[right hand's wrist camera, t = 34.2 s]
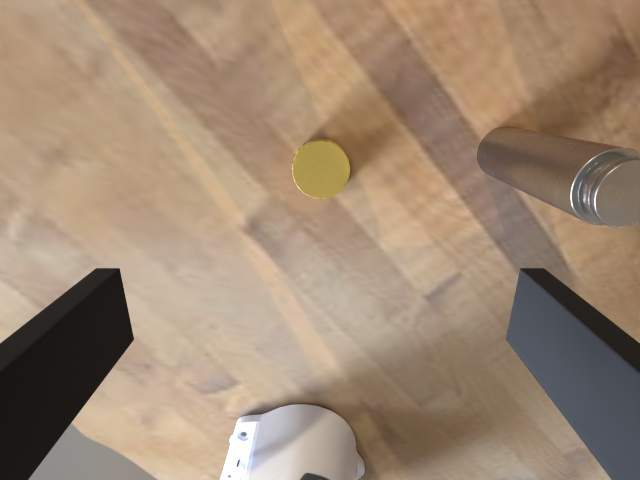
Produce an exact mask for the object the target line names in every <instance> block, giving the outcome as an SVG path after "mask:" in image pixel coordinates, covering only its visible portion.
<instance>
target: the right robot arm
mask: <svg viewBox="0 0 640 480" xmlns="http://www.w3.org/2000/svg"><path fill="white" fill-rule="evenodd" d="M133 340H134V337H133V332H132V328H131V323H130V318H129V313H128V308H127V303H126V298H125V293H124V288H123V283H122V278H121V273H120V269H119V268H96V269H95V270H93V271H92V272H91V273H90V274H88V275H87V276H86V277H85V278H83V279H82V280H81V281H79V282H78V283H77V284H76V285H74V286H73V287H72V288H71V289H69V290H68V291H67V292H65V293H64V294H63V295H62V296H60V297H59V298H58V299H56V300H55V301H54V302H53V303H51V304H50V305H49V306H48V307H46V308H45V309H44V310H42V311H41V312H40V313H39V314H37V315H36V316H35V317H34V318H32V319H31V320H30V321H28V322H27V323H26V324H25V325H23V326H22V327H21V328H20V329H18V330H17V331H16V332H14V333H13V334H12V335H11V336H9V337H8V338H7V339H5V340H4V341H3V342H2V343H0V480H28V479H29V478H30V477H31V475H32V474H33V472H34V471H35V470H36V469H37V467H38V466H39V465H40V463H41V462H42V461H43V459H44V458H45V457H46V455H47V454H48V453H49V451H50V450H51V449H52V447H53V446H54V445H55V443H56V442H57V441H58V439H59V438H60V437H61V435H62V434H63V433H64V431H65V430H66V429H67V427H68V426H69V425H70V424H71V422H72V421H73V420H74V418H75V417H76V416H77V414H78V413H79V412H80V410H81V409H82V408H83V406H84V405H85V404H86V402H87V401H88V400H89V398H90V397H91V396H92V394H93V393H94V392H95V390H96V389H97V388H98V386H99V385H100V384H101V382H102V381H103V380H104V378H105V377H106V376H107V374H108V373H109V372H110V370H111V369H112V368H113V367H114V365H115V364H116V363H117V361H118V360H119V359H120V357H121V356H122V355H123V353H124V352H125V351H126V349H127V348H128V347H129V345H130V344H131V343H132V341H133ZM506 340H507V341H508V343H509V344H510V345H511V347H512V348H513V349H514V351H515V352H516V353H517V355H518V356H519V357H520V359H521V360H522V361H523V363H524V364H525V365H526V367H527V368H528V369H529V370H530V372H531V373H532V374H533V376H534V377H535V378H536V380H537V381H538V382H539V384H540V385H541V386H542V388H543V389H544V390H545V392H546V393H547V394H548V396H549V397H550V398H551V400H552V401H553V402H554V404H555V405H556V406H557V408H558V409H559V410H560V412H561V413H562V414H563V416H564V417H565V418H566V420H567V421H568V422H569V424H570V425H571V426H572V427H573V429H574V430H575V431H576V433H577V434H578V435H579V437H580V438H581V439H582V441H583V442H584V443H585V445H586V446H587V447H588V449H589V450H590V451H591V453H592V454H593V455H594V457H595V458H596V459H597V461H598V462H599V463H600V465H601V466H602V467H603V469H604V470H605V471H606V473H607V474H608V475H609V477H610V478H611V479H612V480H640V343H638V342H637V341H636V340H635V339H633V338H632V337H631V336H629V335H628V334H627V333H626V332H624V331H623V330H622V329H620V328H619V327H618V326H617V325H615V324H614V323H613V322H612V321H610V320H609V319H608V318H606V317H605V316H604V315H603V314H601V313H600V312H599V311H598V310H596V309H595V308H594V307H592V306H591V305H590V304H589V303H587V302H586V301H585V300H584V299H582V298H581V297H580V296H578V295H577V294H576V293H575V292H573V291H572V290H571V289H569V288H568V287H567V286H566V285H564V284H563V283H562V282H561V281H559V280H558V279H557V278H555V277H554V276H553V275H552V274H550V273H549V272H548V271H547V270H545V269H544V268H521V269H520V273H519V278H518V283H517V288H516V293H515V298H514V303H513V308H512V313H511V318H510V323H509V328H508V332H507V337H506Z"/></svg>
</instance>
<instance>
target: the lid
mask: <svg viewBox="0 0 640 480" xmlns="http://www.w3.org/2000/svg"><path fill="white" fill-rule="evenodd" d="M294 157H295V159H294V161H293V163H292V165H293V166H292V173H293V179H294V181H295V183H296V185H297V186H298V188H299V189H300V190H301V191H302V192H303V193H305V194H306V195H308V196H310V197H313V198H318V199H324V198H329V197H332V196H334V195H336V194H338V193H339V192H340V191H341V190H342V189H343V188H344V187H345V186H346V184H347V182H348V179H349V176H350V172H351V171H350V162H349V160H348V155H346V153H345V150H344V149H342V148H341V147H340V146H339V144H337V143H335V142H333V140H328V139H326V138H324V139H318V138H317V139H315V140H312V141H311V140H310V141H309V142H307V143H306V144H305V143H304V145H303V146H302V147H301V148H299V149H298V152H297V154H295V156H294Z"/></svg>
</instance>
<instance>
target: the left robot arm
mask: <svg viewBox="0 0 640 480" xmlns="http://www.w3.org/2000/svg"><path fill="white" fill-rule="evenodd" d="M230 443H231V445H230V448H229V452H228V455H227V458H226V462H225V465H224V469H223V472H222V476H221V479H220V480H359V478H360V477H361V476H362V475H363V474H364V472H365V464H364V461H363V460H362V458H361V457H360V455H359V454H358V453H357V449H356V440H355V436H354V433H353V431H352V429H351V427H350V426H349V425H348V423H347V422H346V421H345V420H344V419H343V418H342V417H340V416H339V415H337V414H336V413H334V412H332V411H330V410H328V409H325V408H322V407H319V406H314V405H307V404H295V405H287V406H283V407H280V408H277V409H274V410H272V411H270V412H267V413H264V414H260V415H247V416H243V417H241V418H239V419H238V421H237V424H236V427H235V431H234V434H233V435H232V436H231V438H230Z"/></svg>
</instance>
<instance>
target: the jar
mask: <svg viewBox="0 0 640 480" xmlns="http://www.w3.org/2000/svg"><path fill="white" fill-rule="evenodd" d="M477 159H478V163H479V166H480V168H481V169H482V170H483V171H484V172H485V173H486V174H488V175H490V176H492V177H494V178H496V179H498V180H500V181H502V182H505V183H507V184H509V185H511V186H513V187H515V188H517V189H519V190H521V191H523V192H525V193H527V194H529V195H531V196H533V197H535V198H537V199H539V200H542V201H544V202H546V203H548V204H550V205H552V206H554V207H556V208H558V209H560V210H562V211H564V212H566V213H568V214H570V215H572V216H574V217H577V218H579V219H581V220H583V221H585V222H587V223H590V224H593V225H606V226H610V227H626V226H631V225H634V224H637V223H639V222H640V153H639V152H637V151H636V150H633V149H629V148H623V147H618V146H612V145H607V144H601V143H596V142H590V141H585V140H579V139H573V138H568V137H562V136H557V135H551V134H546V133H540V132H535V131H529V130H524V129H518V128H512V127H501V128H497V129H495V130H493V131H491V132H490V133H489V134H487V135H486V136H485V137H484V139H483V140H482V142H481V143H480V145H479V148H478V153H477Z"/></svg>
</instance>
